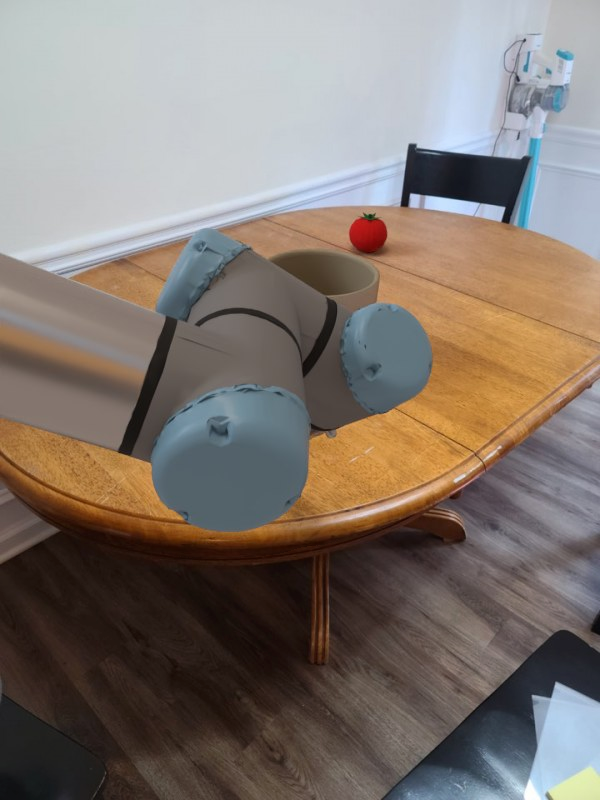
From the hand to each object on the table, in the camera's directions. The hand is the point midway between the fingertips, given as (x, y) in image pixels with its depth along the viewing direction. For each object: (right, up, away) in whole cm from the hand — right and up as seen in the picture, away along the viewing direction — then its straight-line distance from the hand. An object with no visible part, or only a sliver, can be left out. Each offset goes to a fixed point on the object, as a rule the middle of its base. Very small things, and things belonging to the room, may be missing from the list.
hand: (212, 445), depth 70 cm
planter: (+14, +12, +38) cm, 42 cm away
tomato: (+29, +47, +86) cm, 102 cm away
